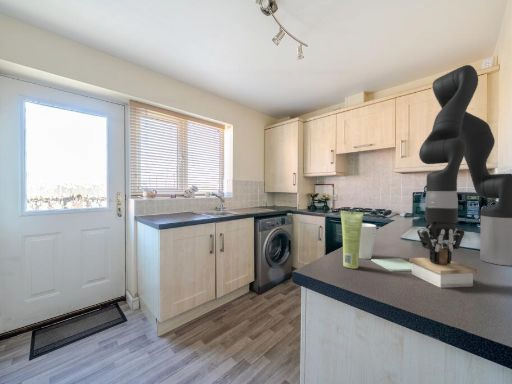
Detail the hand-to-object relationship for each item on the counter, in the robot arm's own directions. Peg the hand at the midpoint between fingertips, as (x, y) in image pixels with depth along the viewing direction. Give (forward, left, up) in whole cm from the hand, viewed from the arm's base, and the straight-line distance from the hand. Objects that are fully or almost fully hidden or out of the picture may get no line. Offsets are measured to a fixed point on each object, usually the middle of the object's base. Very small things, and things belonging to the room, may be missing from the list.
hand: (440, 262), depth 66 cm
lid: (0, 0, -1) cm, 1 cm away
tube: (+21, -13, -5) cm, 25 cm away
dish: (0, 0, -5) cm, 5 cm away
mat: (+4, -13, -5) cm, 15 cm away
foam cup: (+10, -24, -5) cm, 27 cm away
